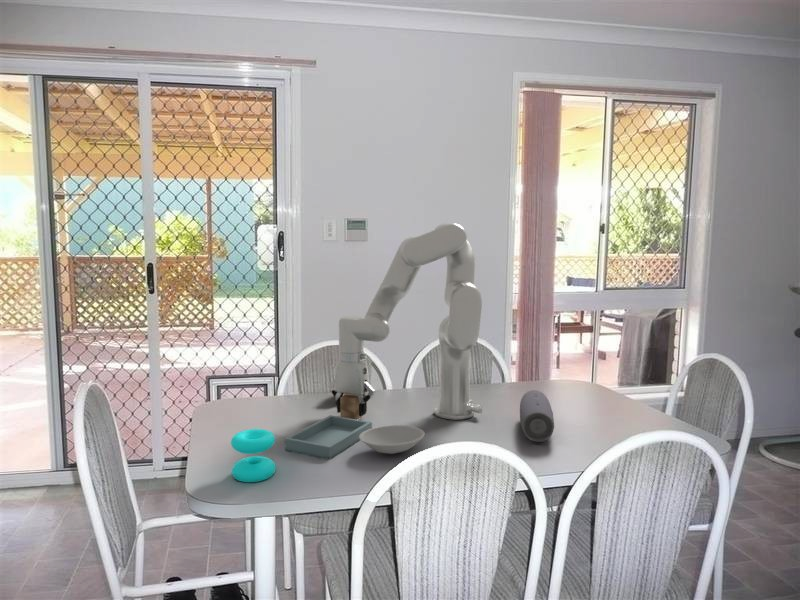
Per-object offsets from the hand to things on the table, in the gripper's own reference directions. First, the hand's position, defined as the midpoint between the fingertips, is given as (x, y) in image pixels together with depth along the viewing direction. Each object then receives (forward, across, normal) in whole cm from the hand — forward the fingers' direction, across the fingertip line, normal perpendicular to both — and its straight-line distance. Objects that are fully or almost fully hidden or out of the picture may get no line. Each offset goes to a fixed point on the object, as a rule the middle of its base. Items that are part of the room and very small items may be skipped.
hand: (351, 412), depth 180 cm
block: (+2, 0, 0) cm, 2 cm away
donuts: (+2, -1, +47) cm, 47 cm away
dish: (+2, -24, +20) cm, 31 cm away
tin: (+2, +13, -16) cm, 21 cm away
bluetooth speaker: (+2, -54, -13) cm, 56 cm away
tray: (+2, -5, +20) cm, 21 cm away
